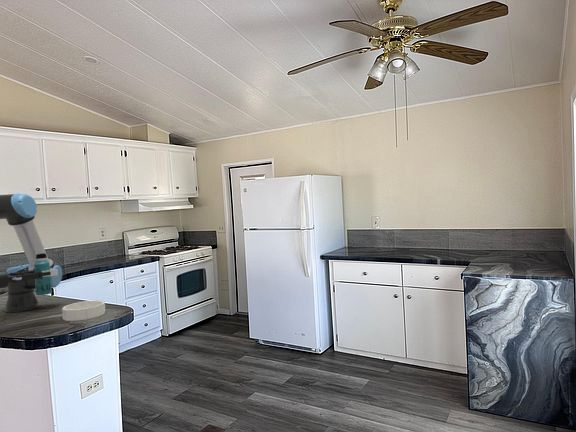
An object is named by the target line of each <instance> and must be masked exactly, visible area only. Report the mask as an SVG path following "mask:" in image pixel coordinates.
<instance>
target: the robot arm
mask: <svg viewBox="0 0 576 432" xmlns="http://www.w3.org/2000/svg"><path fill="white" fill-rule="evenodd" d="M37 211H38V207H37V203H36V201H35V199H34V198H33V197H32V196H31V195H29V194H27V193H12V194H9V193H8V194H0V220H6V222H7V224H8V225H9V226H11V227H13V228H14V231H15V233H16V236H17V238H18V240H19V243H20V244H21V247H22V249H23V252H24V253H25V257H26V260H28V261H27V262H28V263H27V264H24V265H23V264H22V265H18V266H14V267H13V266H12V267H9V268H7V270H4V269H3V270H0V289H5V288H7V300H6V303H5V307H4V310H5V313H20V312H26V311H31V310H35V309H36V308H39V307H40V304H39V302H40V301H39V300H38V298H37V295H36V293H35V288H36V287H35V279H38V278H41V279H43V277H48V276H51V283H52V284H51V286H52V289H53V288H56V287H57V286H59V285H60V283H61V281H62V278H63V270H62V267H61V266H60V265H58V264H57V265H55V263H54V261H53V260H52V259H51V258H49V257H48V254H47V252H46V249H45V246H44V245H43V242H42V239H41V237H40V234H39V233H38V229H37V227H36V226H35V223H34V220H35V219H36V215H37ZM41 253H45V254H46V256H47V258H41V259H36V255H37V254H41ZM37 261H48V262H49V263H50V270H46V271H41V272H35V271H34V264H35V262H37Z"/></svg>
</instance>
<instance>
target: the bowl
mask: <svg viewBox="0 0 576 432" xmlns="http://www.w3.org/2000/svg"><path fill="white" fill-rule="evenodd" d="M61 313H62V317H61V318H62V321H66V322H77V321H86V320H91V319H94V318H95V319H96V318H99V317H101V316H102V315H103V316H104V315H105V313H106V303H105V301H103V300H86V301H85V300H84V301H79V302H74V303H71V304H67V305H64V306H63V307H61Z"/></svg>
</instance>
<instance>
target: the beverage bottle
mask: <svg viewBox="0 0 576 432" xmlns="http://www.w3.org/2000/svg"><path fill="white" fill-rule="evenodd" d="M46 254H47V253H46ZM46 254H45V253H41V254H37V255H36V259H41V258H47V257H48V255H47V256H46ZM46 270H50V263H49V262H48V261H37V262H35V264H34V271H35V272H41V271H46ZM51 284H52V283H51V276H48V277H43V279H41V278H38V279H35V287H36V288H35V289H34V291H35V296H46V295H50V294H52V293H53V291H52V290H53V288H52V286H51Z"/></svg>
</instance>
